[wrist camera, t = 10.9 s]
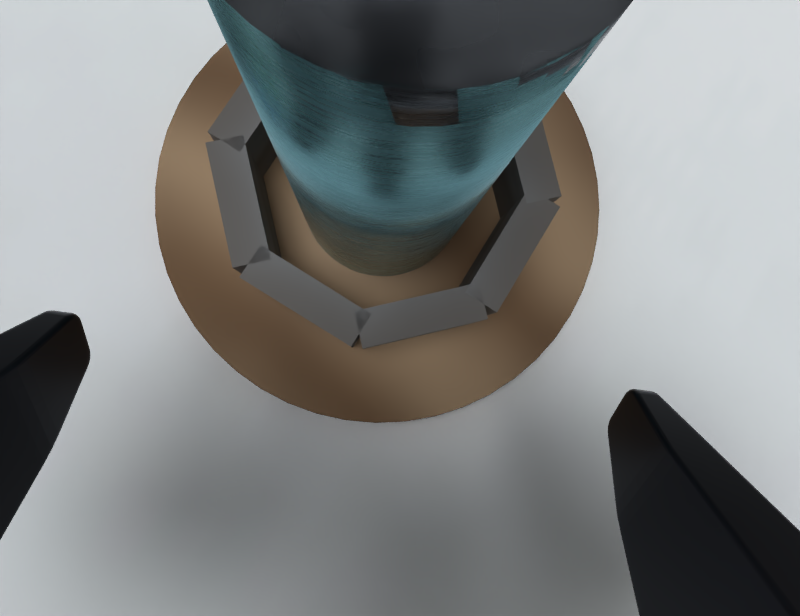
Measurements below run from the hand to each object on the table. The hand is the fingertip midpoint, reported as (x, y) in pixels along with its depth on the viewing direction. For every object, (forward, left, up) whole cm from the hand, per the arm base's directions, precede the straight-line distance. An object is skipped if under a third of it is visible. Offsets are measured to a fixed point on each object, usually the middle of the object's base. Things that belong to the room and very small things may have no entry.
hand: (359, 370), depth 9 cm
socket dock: (+5, +2, -9) cm, 10 cm away
